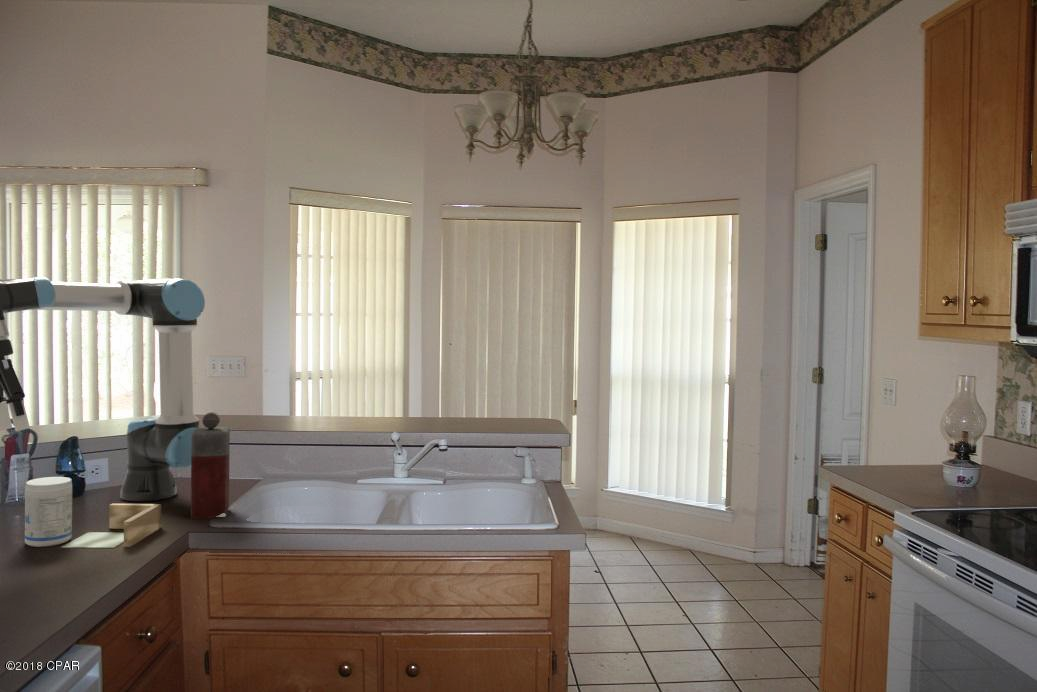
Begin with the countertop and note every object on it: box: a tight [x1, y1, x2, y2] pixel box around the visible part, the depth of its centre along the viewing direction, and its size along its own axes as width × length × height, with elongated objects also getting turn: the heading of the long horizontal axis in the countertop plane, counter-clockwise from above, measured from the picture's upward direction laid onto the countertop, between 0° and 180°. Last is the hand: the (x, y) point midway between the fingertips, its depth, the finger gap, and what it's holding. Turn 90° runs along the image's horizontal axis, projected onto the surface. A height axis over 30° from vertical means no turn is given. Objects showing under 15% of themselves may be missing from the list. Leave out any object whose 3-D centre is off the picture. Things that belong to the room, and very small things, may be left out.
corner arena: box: [60, 503, 162, 549], centre depth 184 cm, size 15×18×6 cm
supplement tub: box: [24, 476, 73, 548], centre depth 179 cm, size 10×10×15 cm
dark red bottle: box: [190, 411, 231, 520], centre depth 208 cm, size 9×11×28 cm
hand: (14, 429), depth 177 cm, fingers open, 13 cm apart
